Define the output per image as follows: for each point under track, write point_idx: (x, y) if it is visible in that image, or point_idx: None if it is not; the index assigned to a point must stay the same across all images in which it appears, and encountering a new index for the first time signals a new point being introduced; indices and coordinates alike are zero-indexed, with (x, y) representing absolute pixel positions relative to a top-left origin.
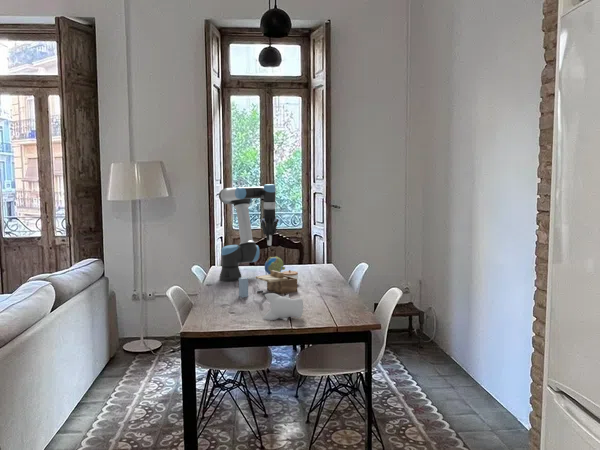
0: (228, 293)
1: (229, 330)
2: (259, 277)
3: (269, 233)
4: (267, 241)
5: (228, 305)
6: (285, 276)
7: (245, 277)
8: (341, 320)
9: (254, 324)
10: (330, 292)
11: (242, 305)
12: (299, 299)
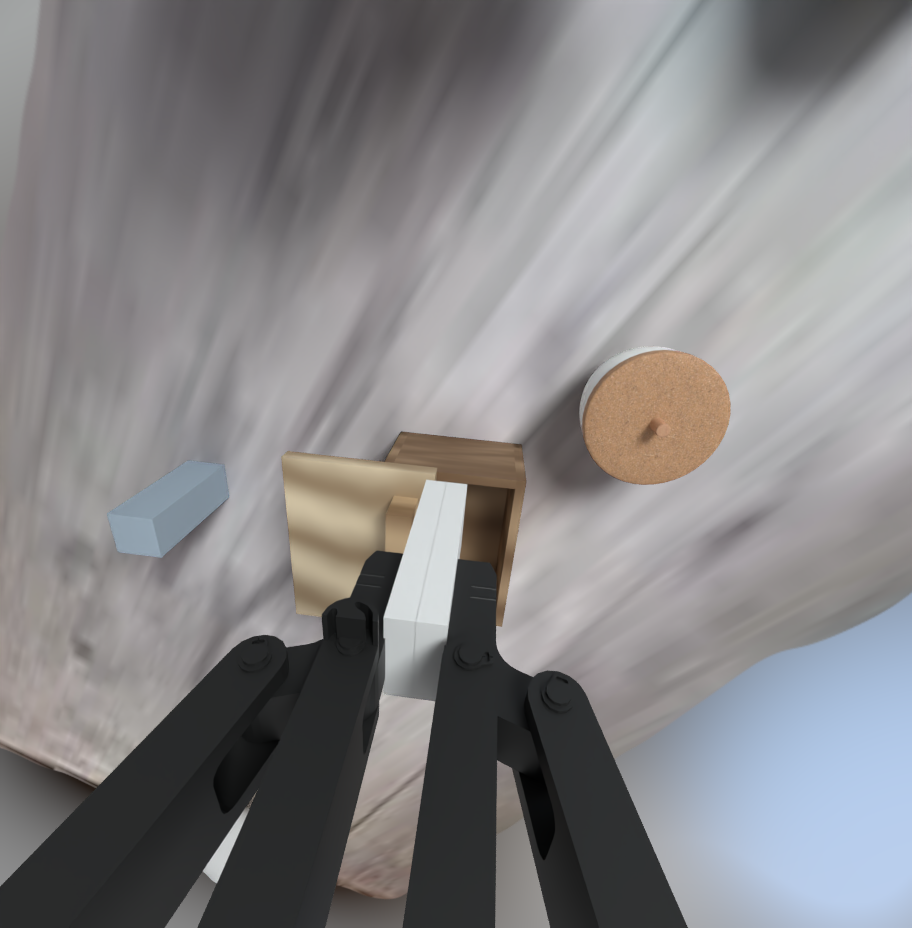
0: (152, 361)
1: (38, 758)
2: (286, 507)
3: (369, 743)
4: (414, 520)
5: (91, 567)
6: (509, 519)
7: (152, 531)
8: (345, 856)
9: (117, 762)
10: (604, 676)
11: (147, 602)
12: (214, 881)
